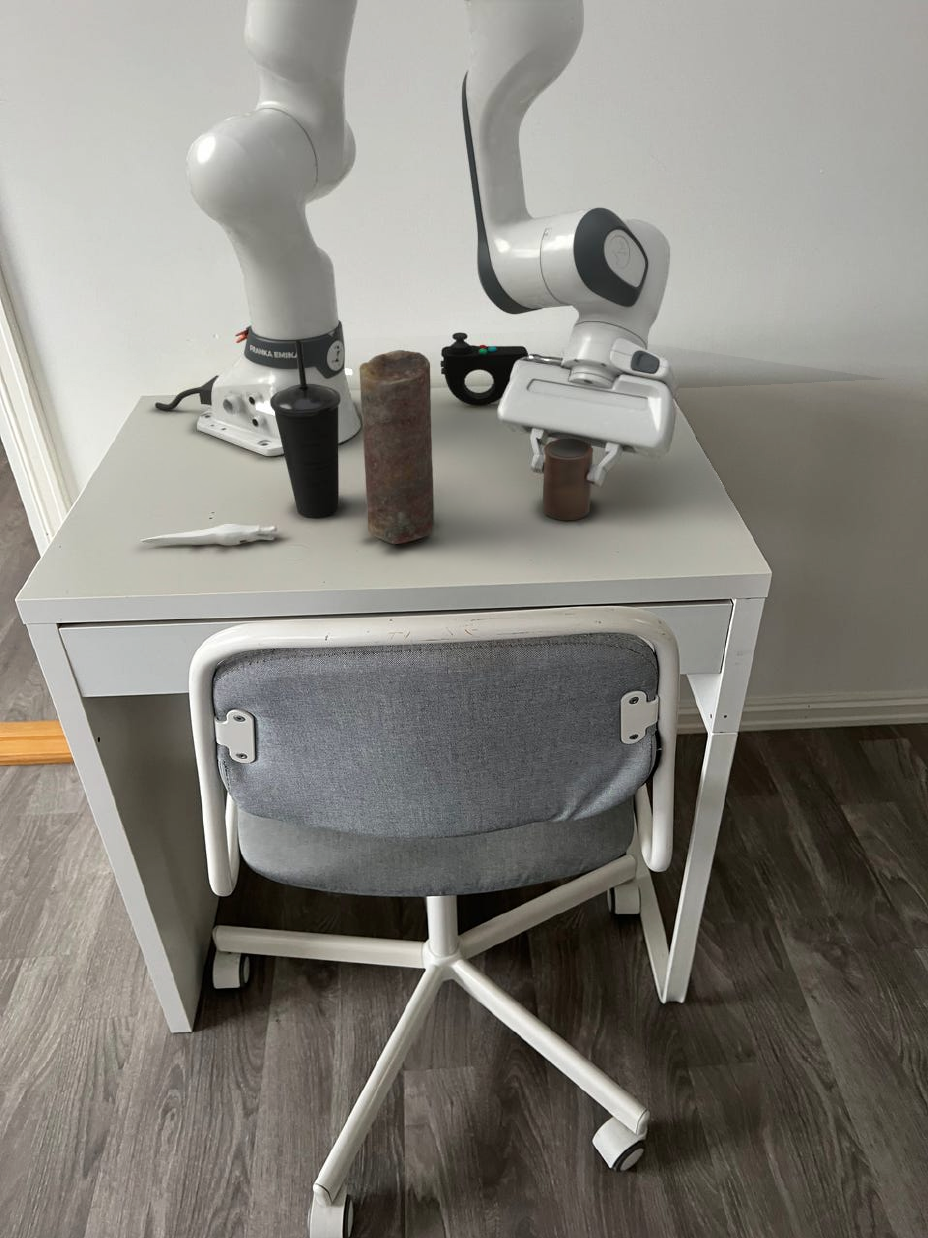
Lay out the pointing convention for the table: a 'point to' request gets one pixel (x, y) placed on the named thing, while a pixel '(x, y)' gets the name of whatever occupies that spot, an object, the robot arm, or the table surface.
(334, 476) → the drinking cup
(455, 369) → the controller
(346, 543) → the table surface
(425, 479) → the brown stone cylinder
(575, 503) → the pencil cup
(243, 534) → the white toy lizard
